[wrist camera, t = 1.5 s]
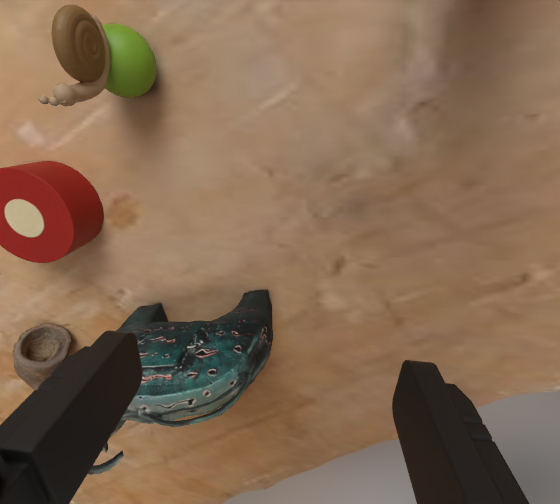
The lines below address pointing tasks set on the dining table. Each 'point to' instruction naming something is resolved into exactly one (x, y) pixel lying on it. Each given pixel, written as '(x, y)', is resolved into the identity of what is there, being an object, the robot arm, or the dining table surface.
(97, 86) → the snail figurine
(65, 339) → the pipe
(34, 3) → the dining table surface
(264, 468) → the dining table surface
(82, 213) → the cheese
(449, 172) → the dining table surface
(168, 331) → the ceramic cat
